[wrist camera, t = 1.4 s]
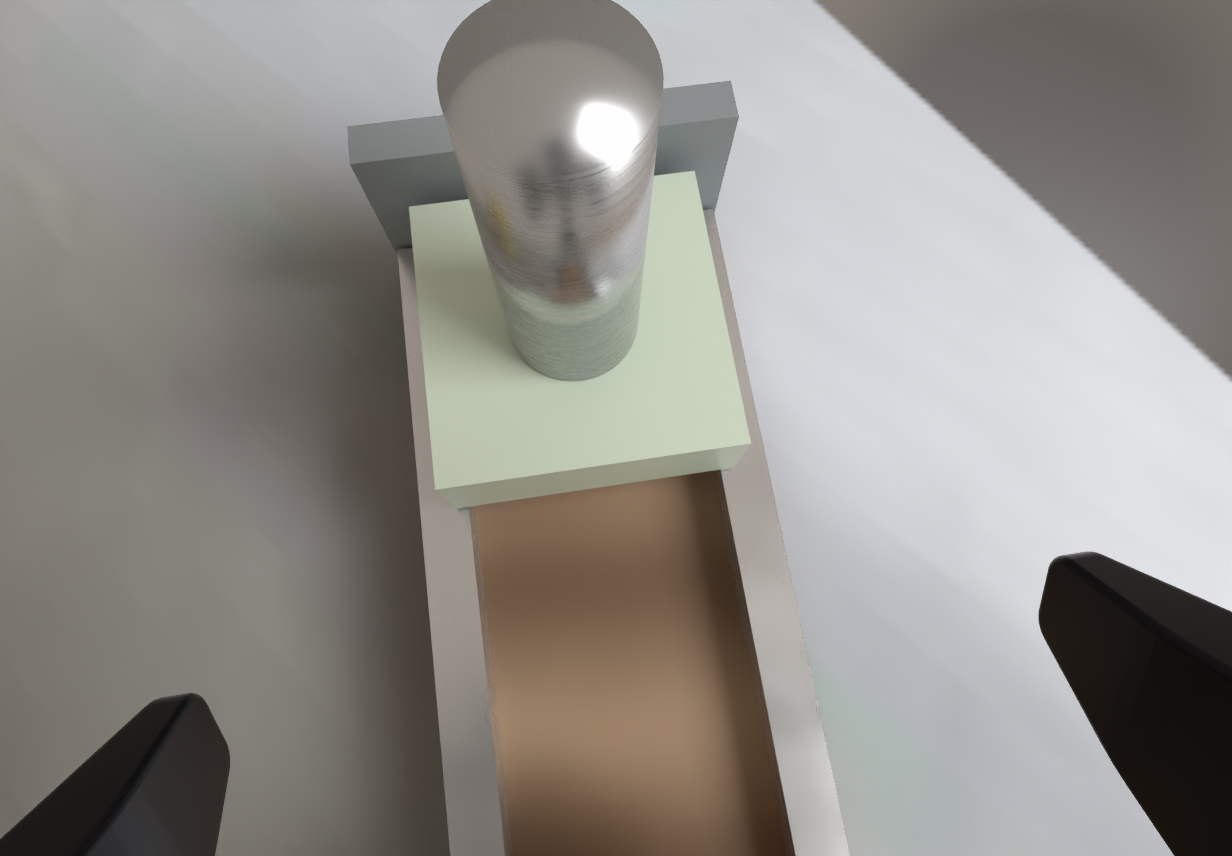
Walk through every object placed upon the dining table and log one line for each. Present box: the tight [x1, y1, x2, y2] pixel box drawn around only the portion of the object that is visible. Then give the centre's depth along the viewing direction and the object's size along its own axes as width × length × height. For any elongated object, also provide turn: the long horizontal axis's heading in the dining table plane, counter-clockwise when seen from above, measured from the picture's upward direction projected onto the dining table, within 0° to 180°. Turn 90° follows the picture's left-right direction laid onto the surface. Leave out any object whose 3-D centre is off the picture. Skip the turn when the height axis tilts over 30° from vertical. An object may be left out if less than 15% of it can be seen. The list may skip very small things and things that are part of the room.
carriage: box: [409, 0, 751, 509], centre depth 15 cm, size 7×7×10 cm
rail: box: [347, 81, 850, 856], centre depth 18 cm, size 23×9×8 cm, turn 9°
